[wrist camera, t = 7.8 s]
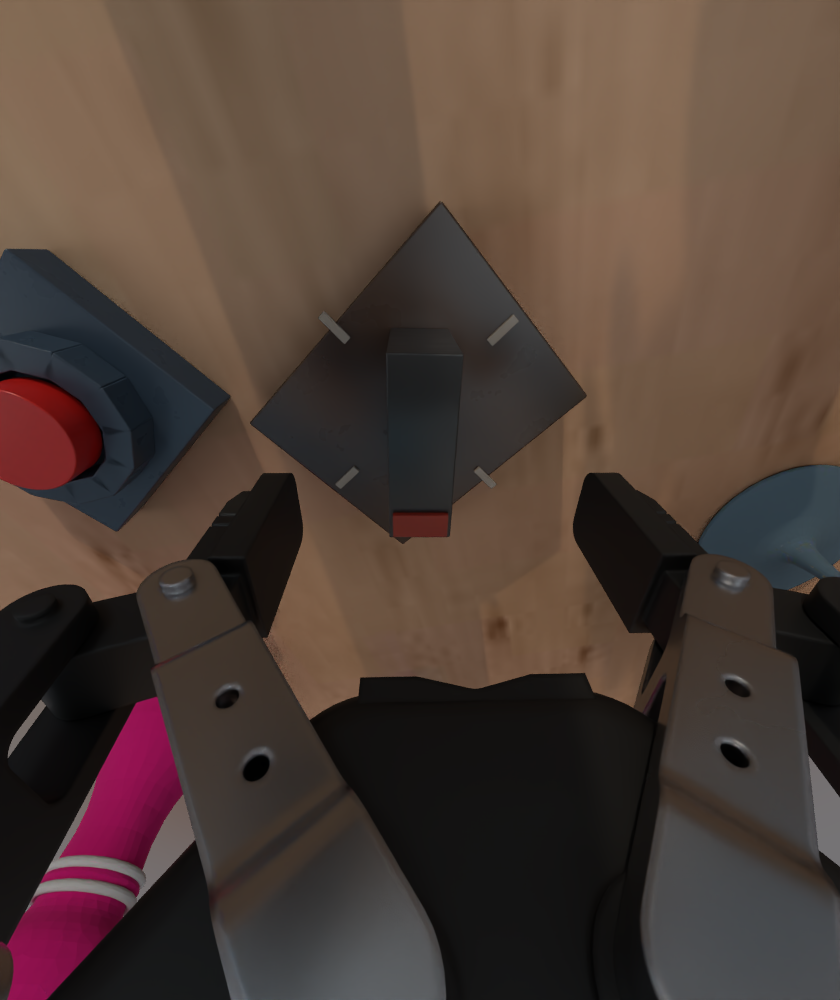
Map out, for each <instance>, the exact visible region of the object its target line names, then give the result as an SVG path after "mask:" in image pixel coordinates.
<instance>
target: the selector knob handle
mask: <svg viewBox="0 0 840 1000" xmlns="http://www.w3.org/2000/svg"><path fill="white" fill-rule="evenodd" d="M463 358H464V355H463V353H462V351H461V350H460V348H459V346H458V345H457V343H456V341H455V340H454V338H453V336H452V335H451V333H450V331H449V330H448V329H427V328H391V329H390V334H389V340H388V345H387V351H386V387H387V436H388V486H389V535H390V537H449V536H450V528H451V515H452V502H453V489H454V476H455V463H456V450H457V437H458V424H459V411H460V397H461V384H462V371H463Z"/></svg>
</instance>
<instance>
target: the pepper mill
mask: <svg viewBox="0 0 840 1000" xmlns="http://www.w3.org/2000/svg"><path fill="white" fill-rule="evenodd" d="M182 795H183V791H182V788H181V784H180V780H179V776H178V773H177V769H176V765H175V761H174V758H173V754H172V750H171V746H170V743H169V739H168V735H167V731H166V728H165V724H164V720H163V716H162V713H161V709H160V705H159V701H158V698H157V697H154V698H151V699H147V700H144V701H141V702H137V703H136V704H135V706H134V708H133V710H132V712H131V714H130V716H129V717H128V719H127V721H126V723H125V725H124V727H123V729H122V731H121V732H120V734H119V736H118V738H117V740H116V742H115V744H114V746H113V747H112V749H111V751H110V753H109V755H108V757H107V759H106V761H105V763H104V764H103V766H102V768H101V770H100V772H99V774H98V776H97V779H96V783H95V787H94V791H93V794H92V797H91V800H90V803H89V805H88V808H87V811H86V812H85V815H84V817H83V819H82V821H81V823H80V825H79V827H78V829H77V831H76V833H75V834H74V836H73V838H72V839H71V841H70V842H69V844H68V845H67V847H66V849H65V850H64V852H63V853H62V855H61V856H60V858H59V859H56V860H54V861H52V862H51V864H50V866H49V868H48V869H47V871H46V873H45V875H44V877H43V879H42V881H41V883H40V884H39V886H38V888H37V890H36V892H35V894H34V896H33V898H32V899H31V901H30V905H31V907H30V908H29V909H28V910H27V911H26V912H25V913H24V915H23V916H22V918H21V920H20V922H19V924H18V926H17V928H16V930H15V931H14V933H13V935H12V937H11V939H10V941H9V943H8V945H7V947H8V948H9V950H10V951H11V954H12V958H13V967H14V972H13V980H12V985H11V989H10V992H9V996H8V999H7V1000H46V999H47V998H48V997H49V996H50V995H51V994H52V993H53V992H54V991H55V990H56V989H57V987H58V986H59V985H60V984H61V983H62V982H63V981H64V980H65V979H66V978H67V977H68V976H69V975H70V974H71V972H72V971H73V970H74V969H75V968H76V967H77V966H78V965H79V964H80V963H81V962H82V961H83V960H84V958H85V957H86V956H87V955H88V954H89V953H90V952H91V951H92V950H93V949H94V948H95V947H96V946H97V945H98V943H99V942H100V941H101V940H102V939H103V938H104V937H105V936H106V935H107V934H108V933H109V932H110V931H111V930H112V928H113V927H114V926H115V925H116V924H117V923H118V922H119V921H120V920H121V919H122V918H123V916H125V914H126V913H127V912H128V911H129V910H130V909H131V908H132V907H133V906H134V905H135V904H136V903H137V899H136V897H137V895H138V894H139V890H140V889H141V888H142V887H143V886H144V884H145V882H146V876H145V873H144V872H143V871H142V869H143V867H144V864H145V861H146V859H147V856H148V853H149V851H150V848H151V845H152V843H153V842H154V840H155V838H156V835H157V834H158V832H159V830H160V828H161V826H162V824H163V822H164V820H165V819H166V817H167V815H168V814H169V812H170V811H171V810H172V808H173V806H174V805H175V804H176V802H177V801H178V800H179V799H180V797H181V796H182Z"/></svg>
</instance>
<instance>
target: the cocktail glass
mask: <svg viewBox="0 0 840 1000" xmlns="http://www.w3.org/2000/svg"><path fill="white" fill-rule="evenodd" d="M698 544H699V545H700V546H701V547H702V548H703V549H704V550H705V551H706V552H707V553H708V554H717V555H723V556H727V557H730V558H733V559H736V560H739V561H741V562H743V563H746V564H747V565H749V566H751V567H753V568H754V569H756V570H757V571H759V572H760V573H761V574H763V575H764V576H765V577H766V578H767V579H768V581H769V582H770V583H771V585H772V587H773V588H778V589H783V590H788V589H791V588H793V587H795V586H798V585H800V584H802V583H804V582H806V581H808V580H810V579H812V578H814V577H815V576H816V577H817V578H819V579H822V578H825V577H840V572H839V571H838V570H837V569H835V568H834V567H833V566H832V565H833V564H834V563H836V562H837V561H838V560H839V559H840V467H838V466H831V465H810V466H804V467H799V468H794V469H791V470H787V471H784V472H781V473H778V474H776V475H773V476H771V477H768V478H766V479H764V480H762V481H760V482H758V483H756V484H754V485H753V486H751V487H749V488H747V489H746V490H745V491H743V492H742V493H740V494H739V495H737V496H736V497H734V498H733V499H732V500H731V501H730V502H729V503H727V504H726V505H725V506H724V507H723V508H722V509H721V510H720V511H719V512H718V513H717V514H716V515H715V516H714V517H713V519H712V520H711V521H710V523H709V524H708V525H707V527H706V528H705V530H704V532H703V534H702V536H701V537H700V540H699V543H698Z"/></svg>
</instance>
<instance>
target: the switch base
mask: <svg viewBox="0 0 840 1000" xmlns="http://www.w3.org/2000/svg"><path fill="white" fill-rule="evenodd" d="M318 319H319V320H320V321H321V322H322V323H324V324H325V325H326V326H327V327H328V328H329V329H330V330H329V331H328V332H327V333H326V334H325V336H324V337H323V338H322V339H321V340H320V341H319V343H318V344H317V345H316V346H315V347H314V348H313V350H312V351H311V352H310V353H309V354H308V355H307V357H306V358H305V359H304V360H303V361H302V362H301V364H300V365H299V366H298V367H297V368H296V369H295V371H294V372H293V373H292V374H291V375H290V376H289V378H288V379H287V380H286V381H285V382H284V383H283V385H282V386H281V387H280V388H279V389H278V390H277V392H276V393H275V394H274V395H273V396H272V397H271V399H270V400H269V401H268V402H267V403H266V404H265V406H264V407H263V408H262V409H261V410H260V411H259V413H258V414H257V415H256V416H255V417H254V418H253V419H252V421H251V422H250V424H251V425H252V426H253V427H255V428H256V429H257V430H259V431H260V432H261V433H262V434H264V435H265V436H266V437H267V438H269V439H270V440H271V441H273V442H274V443H275V444H276V445H278V446H279V447H280V448H281V449H283V450H284V451H285V452H286V453H288V454H289V455H290V456H292V457H293V458H294V459H295V460H297V461H298V462H299V463H300V464H302V465H303V466H304V467H306V468H307V469H308V470H309V471H311V472H312V473H313V474H314V475H316V476H317V477H318V478H320V479H321V480H322V481H323V482H325V483H326V484H327V485H328V486H330V487H331V488H332V489H333V490H335V491H336V492H337V493H339V494H340V495H341V496H342V497H344V498H345V499H346V500H347V501H349V502H350V503H351V504H353V505H354V506H355V507H356V508H358V509H359V510H360V511H361V512H363V513H364V514H365V515H366V516H368V517H369V518H370V519H372V520H373V521H374V522H375V523H377V524H378V525H379V526H380V527H382V528H383V529H384V530H386V531H387V532H388V533H389V486H388V436H387V387H386V351H387V345H388V340H389V334H390V329H391V328H427V329H448V330H449V331H450V333H451V335H452V336H453V338H454V340H455V341H456V343H457V345H458V346H459V348H460V350H461V351H462V353H463V355H464V358H463V371H462V384H461V397H460V411H459V424H458V437H457V450H456V463H455V476H454V489H453V502H452V504H454V503H455V502H456V501H457V500H459V499H460V498H461V497H462V496H464V495H465V494H466V493H467V492H469V491H470V490H471V489H472V488H473V487H475V486H476V485H477V484H478V483H480V482H481V481H482V480H483V481H484V482H485V483H486V484H487V485H488V486H489V487H490V488H491V489H492V488H493V487H494V486H496V485H497V484H496V483H495V482H494V481H493V480H492V479H491V478H490V477H489V476H488V475H490V474H491V473H492V472H493V471H495V470H496V469H497V468H498V467H500V466H501V465H502V464H503V463H505V462H506V461H507V460H508V459H510V458H511V457H512V456H513V455H515V454H516V453H517V452H518V451H520V450H521V449H522V448H523V447H524V446H526V445H527V444H528V443H529V442H531V441H532V440H533V439H534V438H536V437H537V436H538V435H539V434H541V433H542V432H543V431H544V430H546V429H547V428H548V427H549V426H551V425H552V424H553V423H554V422H556V421H557V420H558V419H559V418H561V417H562V416H563V415H564V414H566V413H567V412H568V411H569V410H571V409H572V408H573V407H574V406H576V405H577V404H578V403H579V402H580V401H582V400H583V399H584V398H585V397H586V396H587V395H586V393H585V392H584V391H583V389H582V388H581V387H580V385H579V384H578V383H577V381H576V380H575V379H574V377H573V376H572V375H571V373H570V372H569V371H568V369H567V368H566V367H565V365H564V364H563V363H562V361H561V360H560V359H559V357H558V356H557V355H556V353H555V352H554V351H553V349H552V348H551V347H550V345H549V344H548V343H547V341H546V340H545V338H544V337H543V336H542V334H541V333H540V332H539V330H538V329H537V328H536V326H535V325H534V324H533V322H532V321H531V320H530V318H529V317H528V316H527V314H526V313H525V312H524V310H523V309H522V308H521V306H520V305H519V304H518V302H517V301H516V300H515V298H514V297H513V296H512V294H511V293H510V292H509V290H508V289H507V288H506V286H505V285H504V284H503V282H502V281H501V280H500V278H499V277H498V276H497V274H496V273H495V272H494V270H493V269H492V268H491V266H490V265H489V264H488V262H487V261H486V260H485V258H484V257H483V256H482V254H481V253H480V252H479V250H478V249H477V248H476V246H475V245H474V244H473V242H472V241H471V240H470V238H469V237H468V235H467V234H466V233H465V231H464V230H463V229H462V227H461V226H460V225H459V223H458V222H457V221H456V219H455V218H454V217H453V215H452V214H451V213H450V211H449V210H448V209H447V207H446V206H445V205H444V203H443V202H441V201H440V202H439V203H438V204H437V205H436V206H435V207H434V209H433V210H432V211H431V212H430V213H429V214H428V216H427V217H426V218H425V219H424V220H423V221H422V223H421V224H420V225H419V226H418V227H417V228H416V230H415V231H414V232H413V233H412V234H411V235H410V237H409V238H408V239H407V240H406V241H405V242H404V244H403V245H402V246H401V247H400V248H399V249H398V251H397V252H396V253H395V254H394V255H393V256H392V258H391V259H390V260H389V261H388V262H387V263H386V265H385V266H384V267H383V268H382V269H381V270H380V272H379V273H378V274H377V275H376V276H375V277H374V279H373V280H372V281H371V282H370V283H369V284H368V286H367V287H366V288H365V289H364V290H363V291H362V292H361V294H360V295H359V296H358V297H357V298H356V299H355V301H354V302H353V303H352V304H351V305H350V306H349V308H348V309H347V310H346V311H345V312H344V313H343V315H342V316H341V317H340V318H339V319H338V320H337V322H335V321H334V320H333V319H332V318H331V317H330V316H329V315H328V314H327V313H326V312H325V311H323V313H322V314H321V315H320V316H319V317H318ZM394 538H396V539H397V540H398V541H399V542H401V543H402V544H404V543H405V542H406V541H408V540H409V539H410V538H411V537H394Z"/></svg>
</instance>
